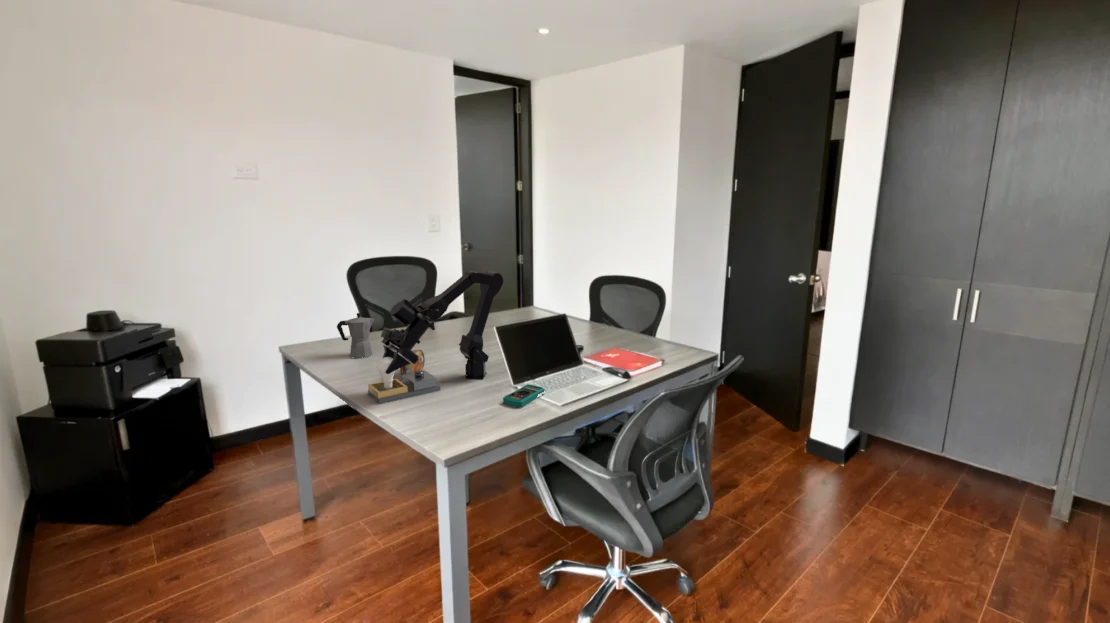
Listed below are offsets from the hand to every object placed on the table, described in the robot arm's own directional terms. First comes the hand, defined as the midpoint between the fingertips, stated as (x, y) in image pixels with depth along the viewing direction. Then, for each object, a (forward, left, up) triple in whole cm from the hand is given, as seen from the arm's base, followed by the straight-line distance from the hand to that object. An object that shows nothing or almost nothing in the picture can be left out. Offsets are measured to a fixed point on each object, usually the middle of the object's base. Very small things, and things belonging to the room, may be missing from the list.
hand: (383, 370), depth 165 cm
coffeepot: (+29, -43, -9) cm, 52 cm away
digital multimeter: (-46, -3, -9) cm, 47 cm away
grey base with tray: (-5, -5, -9) cm, 11 cm away
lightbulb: (-1, -1, -7) cm, 7 cm away
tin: (-1, -23, -9) cm, 25 cm away
